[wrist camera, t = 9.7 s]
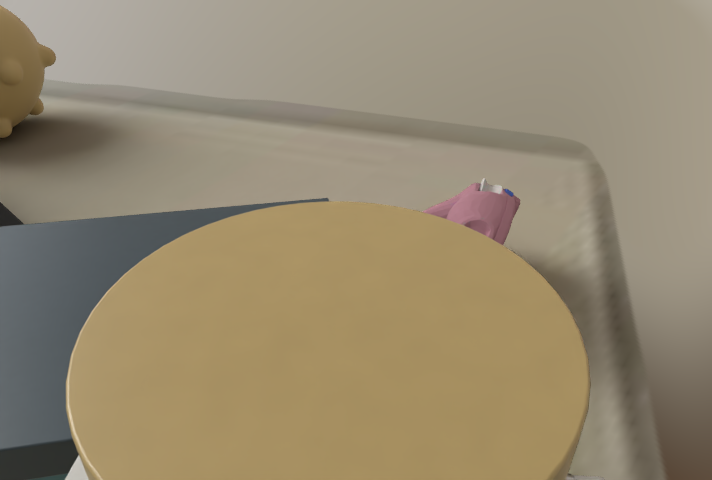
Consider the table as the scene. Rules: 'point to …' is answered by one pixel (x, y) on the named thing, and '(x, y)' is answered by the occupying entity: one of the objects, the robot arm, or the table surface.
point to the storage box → (65, 319)
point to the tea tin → (329, 355)
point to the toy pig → (20, 71)
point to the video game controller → (481, 209)
